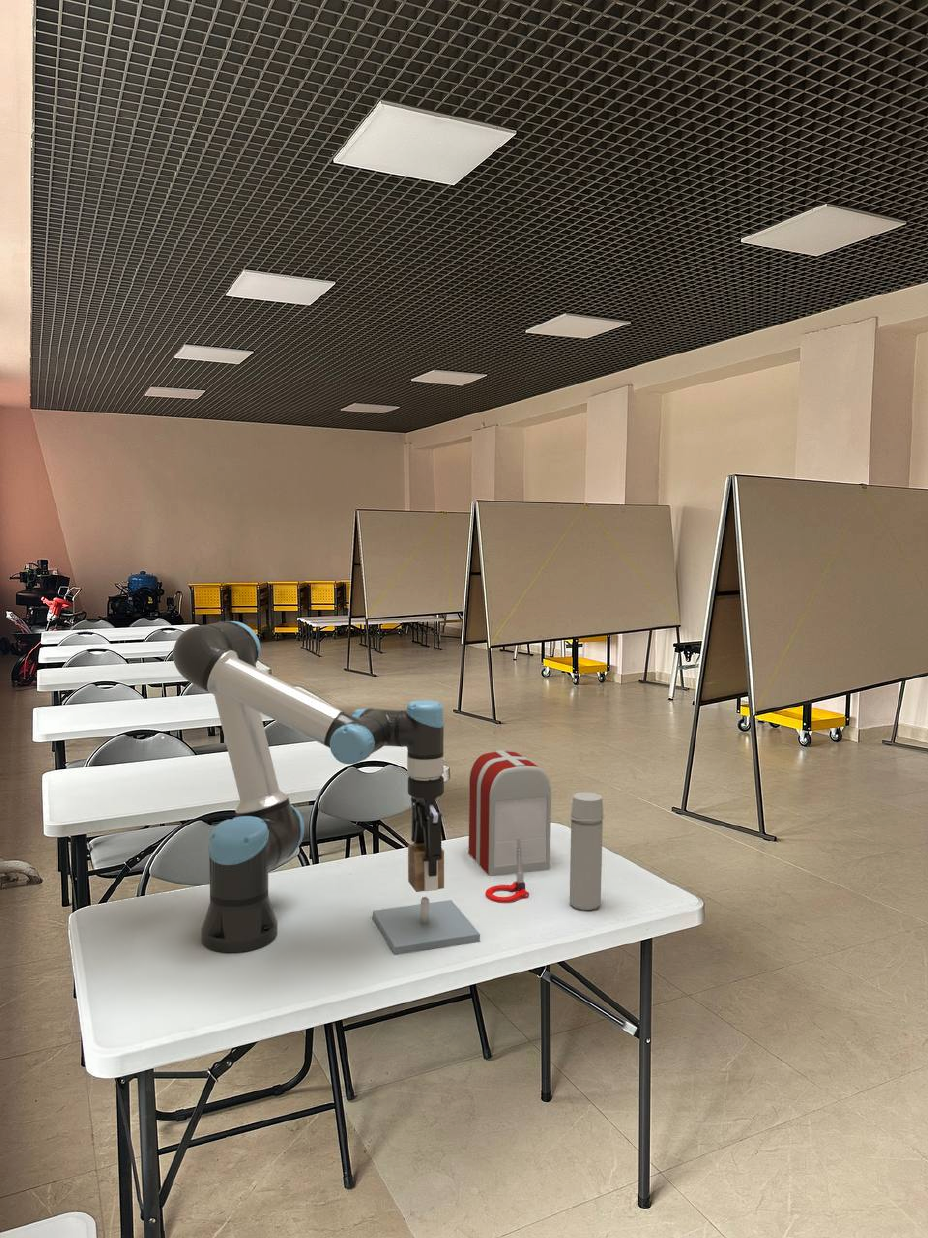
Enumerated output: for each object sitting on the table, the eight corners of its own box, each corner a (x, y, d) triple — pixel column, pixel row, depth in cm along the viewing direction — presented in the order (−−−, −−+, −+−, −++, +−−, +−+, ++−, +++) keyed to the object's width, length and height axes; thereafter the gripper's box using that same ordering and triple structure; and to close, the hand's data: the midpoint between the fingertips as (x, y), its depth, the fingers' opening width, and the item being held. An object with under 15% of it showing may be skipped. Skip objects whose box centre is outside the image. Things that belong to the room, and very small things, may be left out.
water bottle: (607, 911, 194) (609, 800, 192) (572, 913, 193) (575, 802, 191) (594, 894, 203) (596, 789, 201) (561, 896, 202) (563, 790, 200)
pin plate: (394, 954, 173) (394, 921, 172) (372, 917, 190) (372, 886, 189) (479, 941, 179) (480, 908, 178) (451, 906, 196) (451, 876, 195)
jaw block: (416, 892, 179) (416, 854, 179) (408, 881, 185) (407, 844, 184) (444, 888, 181) (444, 850, 181) (435, 878, 187) (435, 841, 186)
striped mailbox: (525, 846, 235) (527, 747, 233) (551, 869, 218) (553, 763, 216) (466, 852, 230) (467, 751, 228) (488, 877, 213) (490, 768, 211)
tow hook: (494, 907, 197) (531, 899, 200) (492, 851, 195) (529, 845, 199) (480, 893, 205) (516, 886, 208) (478, 839, 203) (514, 833, 207)
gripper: (458, 786, 174) (458, 898, 176) (429, 763, 191) (429, 866, 193) (421, 789, 171) (422, 904, 173) (395, 766, 189) (396, 870, 191)
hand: (426, 883), depth 183 cm, fingers closed on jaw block, 6 cm apart
